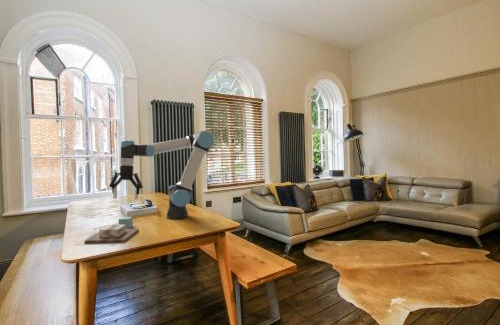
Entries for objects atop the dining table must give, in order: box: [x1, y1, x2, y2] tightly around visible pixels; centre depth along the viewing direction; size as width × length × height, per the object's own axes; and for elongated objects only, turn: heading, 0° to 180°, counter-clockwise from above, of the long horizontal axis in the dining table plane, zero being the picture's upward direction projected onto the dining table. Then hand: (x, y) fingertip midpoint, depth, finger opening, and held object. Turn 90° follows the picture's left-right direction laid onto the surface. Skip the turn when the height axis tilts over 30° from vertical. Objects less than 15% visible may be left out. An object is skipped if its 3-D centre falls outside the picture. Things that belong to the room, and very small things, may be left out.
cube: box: [118, 216, 134, 229], centre depth 165 cm, size 6×6×6 cm
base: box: [83, 224, 140, 245], centre depth 146 cm, size 20×20×6 cm
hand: (125, 198), depth 166 cm, fingers open, 13 cm apart
